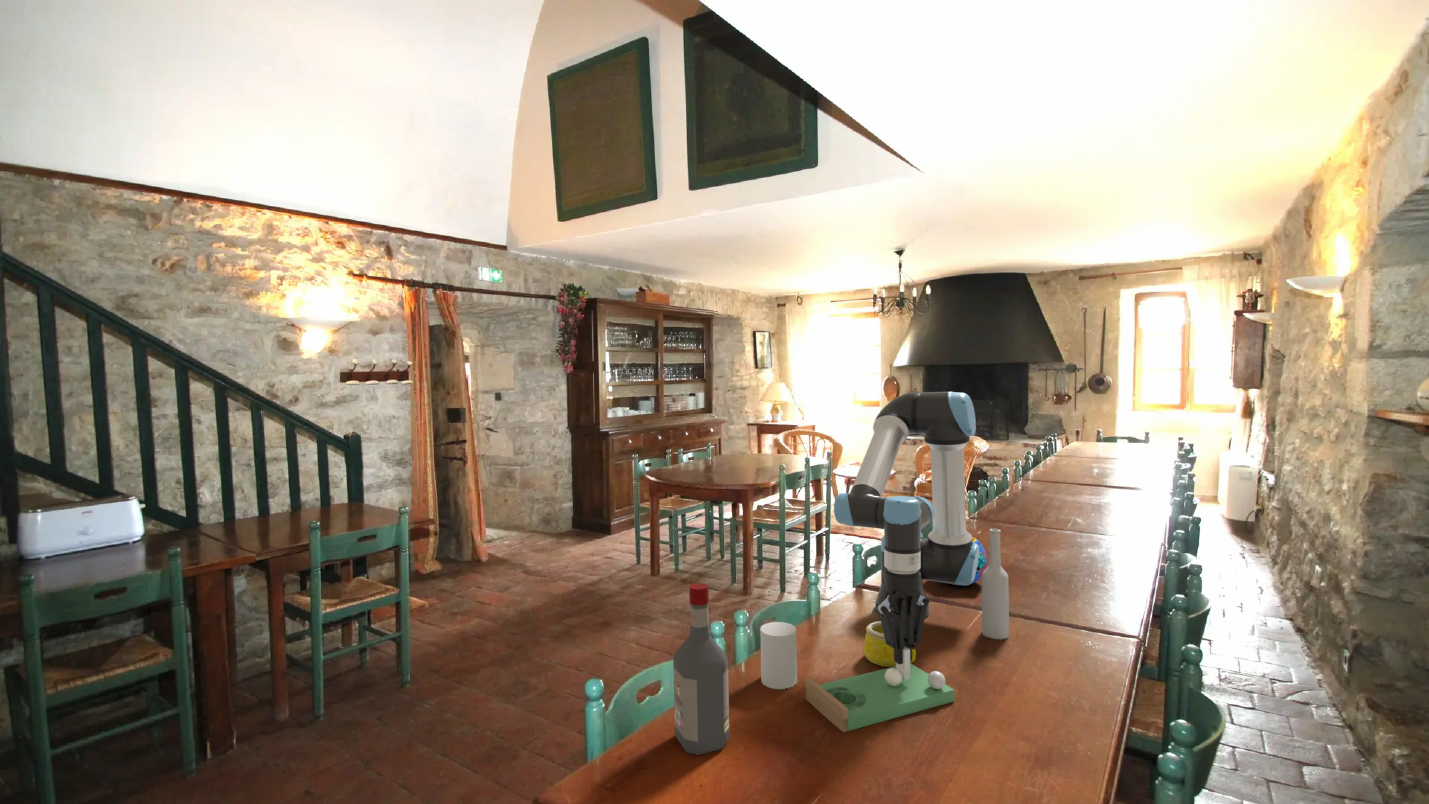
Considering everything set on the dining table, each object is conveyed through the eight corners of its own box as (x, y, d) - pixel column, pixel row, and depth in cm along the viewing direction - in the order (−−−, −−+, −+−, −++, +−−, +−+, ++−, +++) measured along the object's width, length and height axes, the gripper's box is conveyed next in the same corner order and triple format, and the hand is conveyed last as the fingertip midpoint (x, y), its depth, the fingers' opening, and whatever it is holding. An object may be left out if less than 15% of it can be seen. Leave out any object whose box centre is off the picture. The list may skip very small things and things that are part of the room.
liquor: (688, 759, 116) (685, 597, 115) (671, 734, 124) (668, 582, 123) (733, 747, 120) (730, 589, 118) (714, 723, 128) (711, 576, 127)
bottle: (1002, 641, 164) (1001, 534, 163) (977, 634, 169) (976, 529, 168) (1013, 634, 168) (1013, 529, 167) (988, 627, 173) (988, 525, 172)
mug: (855, 661, 154) (854, 612, 154) (877, 647, 162) (877, 600, 162) (904, 677, 146) (904, 626, 145) (925, 661, 154) (925, 612, 153)
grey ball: (923, 686, 136) (923, 670, 136) (937, 683, 138) (937, 666, 137) (935, 694, 133) (935, 677, 133) (949, 690, 134) (949, 673, 134)
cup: (800, 674, 148) (799, 624, 147) (792, 691, 140) (792, 637, 140) (766, 670, 151) (765, 620, 150) (757, 686, 143) (756, 633, 142)
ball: (892, 682, 139) (879, 680, 138) (896, 666, 139) (883, 664, 138) (903, 690, 136) (890, 688, 134) (907, 673, 136) (894, 671, 135)
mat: (805, 699, 137) (805, 678, 136) (909, 673, 148) (909, 654, 147) (843, 732, 124) (842, 709, 124) (954, 701, 135) (954, 680, 134)
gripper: (889, 578, 131) (890, 690, 132) (938, 569, 136) (939, 678, 137) (866, 568, 138) (867, 675, 139) (914, 560, 143) (915, 664, 144)
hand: (903, 676), depth 138 cm, fingers closed
